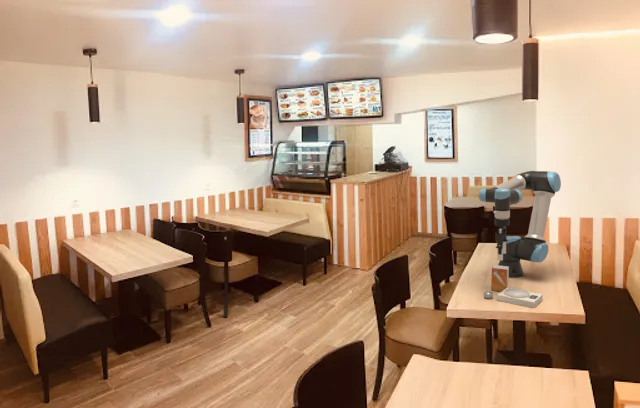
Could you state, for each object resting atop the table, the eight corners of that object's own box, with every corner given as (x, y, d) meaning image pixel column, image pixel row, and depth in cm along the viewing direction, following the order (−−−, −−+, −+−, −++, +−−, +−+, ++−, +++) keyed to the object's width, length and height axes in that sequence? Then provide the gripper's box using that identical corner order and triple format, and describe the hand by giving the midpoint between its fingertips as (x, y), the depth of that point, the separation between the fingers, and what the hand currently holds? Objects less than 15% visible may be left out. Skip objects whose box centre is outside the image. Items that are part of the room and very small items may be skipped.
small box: (491, 290, 251) (491, 267, 249) (493, 287, 256) (493, 264, 254) (506, 292, 247) (507, 269, 245) (508, 288, 252) (509, 266, 250)
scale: (497, 300, 236) (497, 293, 235) (506, 292, 246) (507, 285, 245) (533, 308, 224) (534, 300, 223) (542, 299, 234) (542, 292, 233)
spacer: (485, 296, 243) (485, 290, 242) (494, 297, 240) (494, 292, 239) (482, 298, 240) (482, 292, 239) (490, 300, 237) (490, 294, 236)
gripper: (497, 213, 254) (497, 250, 257) (491, 222, 232) (490, 262, 236) (512, 213, 250) (511, 251, 254) (506, 223, 229) (506, 263, 232)
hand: (501, 256), depth 245 cm, fingers open, 13 cm apart
